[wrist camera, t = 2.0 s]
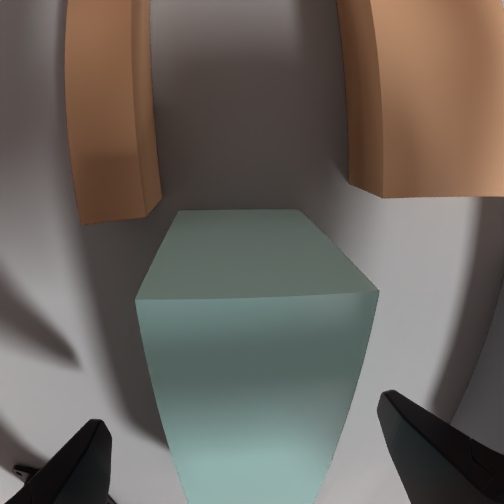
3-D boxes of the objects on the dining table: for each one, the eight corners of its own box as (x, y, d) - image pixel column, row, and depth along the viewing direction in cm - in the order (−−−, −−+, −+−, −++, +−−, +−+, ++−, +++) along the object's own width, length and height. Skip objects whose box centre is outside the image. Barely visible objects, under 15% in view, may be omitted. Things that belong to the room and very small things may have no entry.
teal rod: (207, 465, 13) (210, 555, 8) (179, 209, 8) (134, 299, 4) (274, 461, 13) (291, 549, 8) (297, 207, 9) (379, 291, 4)
